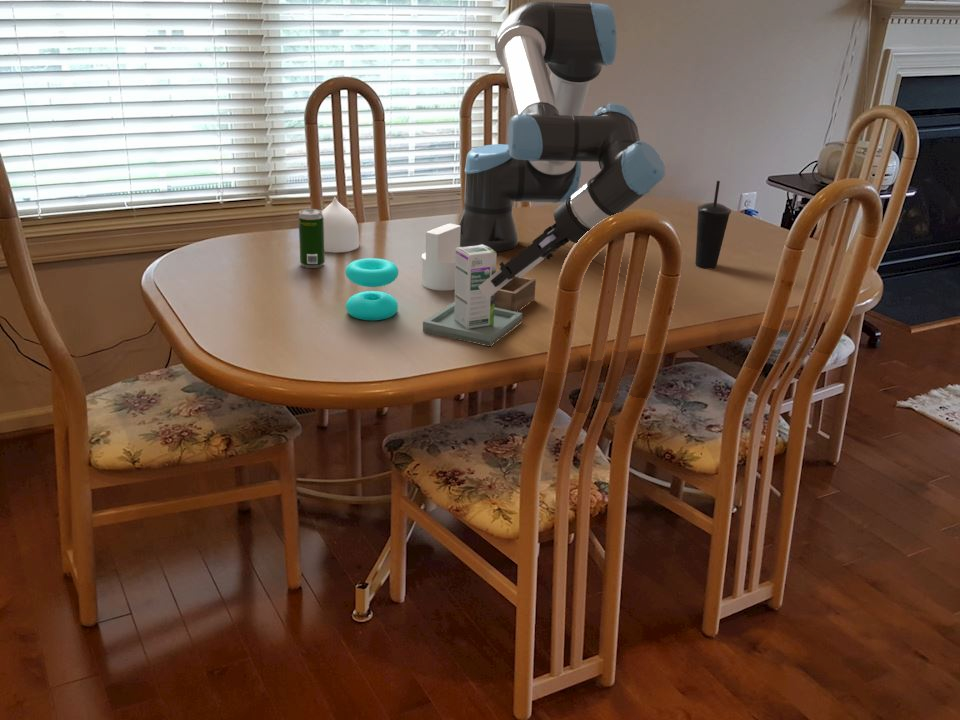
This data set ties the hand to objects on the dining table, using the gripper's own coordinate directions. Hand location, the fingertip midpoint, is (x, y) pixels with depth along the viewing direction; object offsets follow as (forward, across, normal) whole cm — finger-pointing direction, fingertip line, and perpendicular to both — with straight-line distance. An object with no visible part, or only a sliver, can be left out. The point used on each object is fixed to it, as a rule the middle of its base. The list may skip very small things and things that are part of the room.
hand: (500, 282), depth 170 cm
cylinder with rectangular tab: (+23, +19, +9) cm, 32 cm away
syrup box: (+10, 0, -3) cm, 11 cm away
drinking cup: (-9, +65, -23) cm, 70 cm away
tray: (+11, +1, -3) cm, 12 cm away
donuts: (+25, -4, +11) cm, 28 cm away
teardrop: (+47, +29, +33) cm, 65 cm away
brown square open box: (+12, +16, -2) cm, 20 cm away
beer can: (+44, +14, +30) cm, 55 cm away
